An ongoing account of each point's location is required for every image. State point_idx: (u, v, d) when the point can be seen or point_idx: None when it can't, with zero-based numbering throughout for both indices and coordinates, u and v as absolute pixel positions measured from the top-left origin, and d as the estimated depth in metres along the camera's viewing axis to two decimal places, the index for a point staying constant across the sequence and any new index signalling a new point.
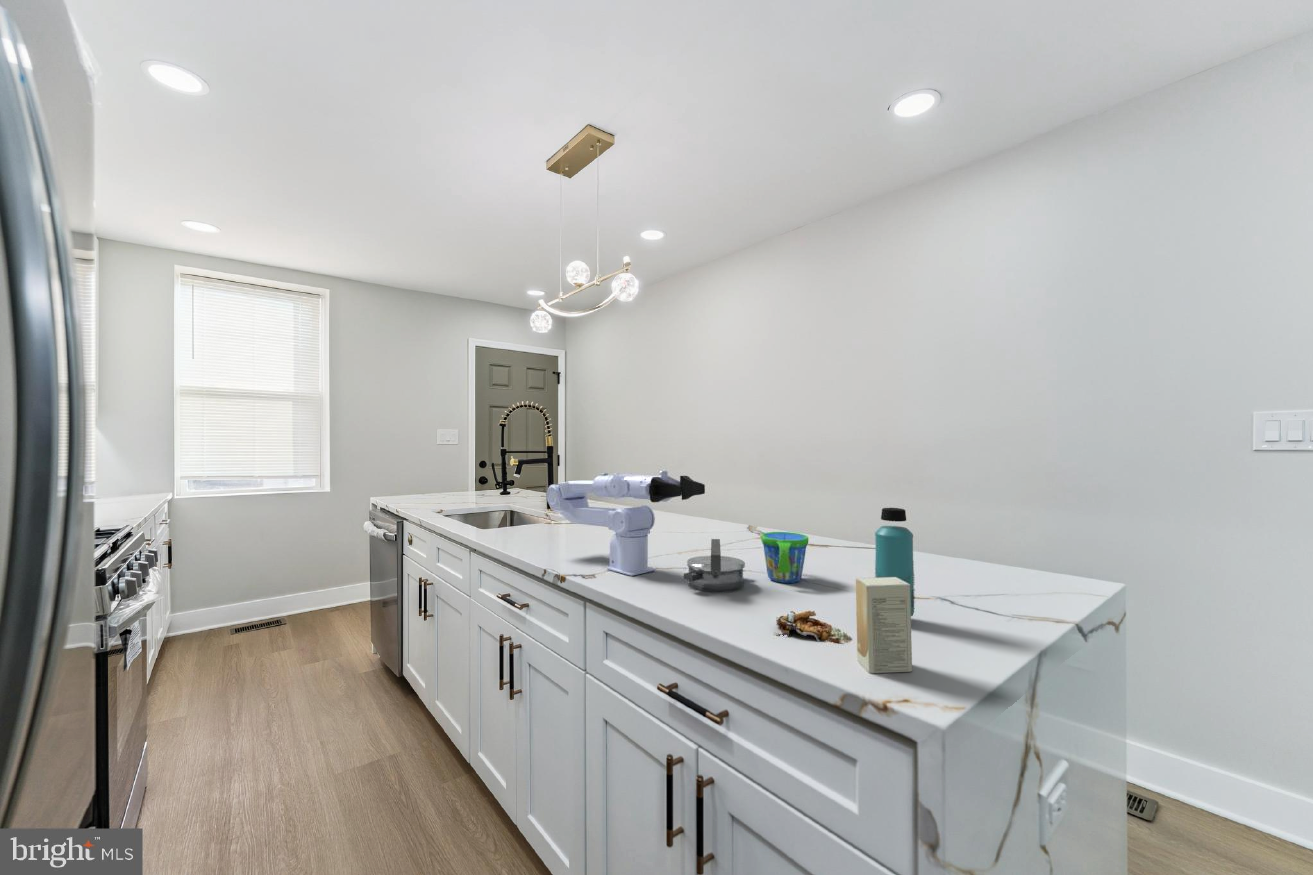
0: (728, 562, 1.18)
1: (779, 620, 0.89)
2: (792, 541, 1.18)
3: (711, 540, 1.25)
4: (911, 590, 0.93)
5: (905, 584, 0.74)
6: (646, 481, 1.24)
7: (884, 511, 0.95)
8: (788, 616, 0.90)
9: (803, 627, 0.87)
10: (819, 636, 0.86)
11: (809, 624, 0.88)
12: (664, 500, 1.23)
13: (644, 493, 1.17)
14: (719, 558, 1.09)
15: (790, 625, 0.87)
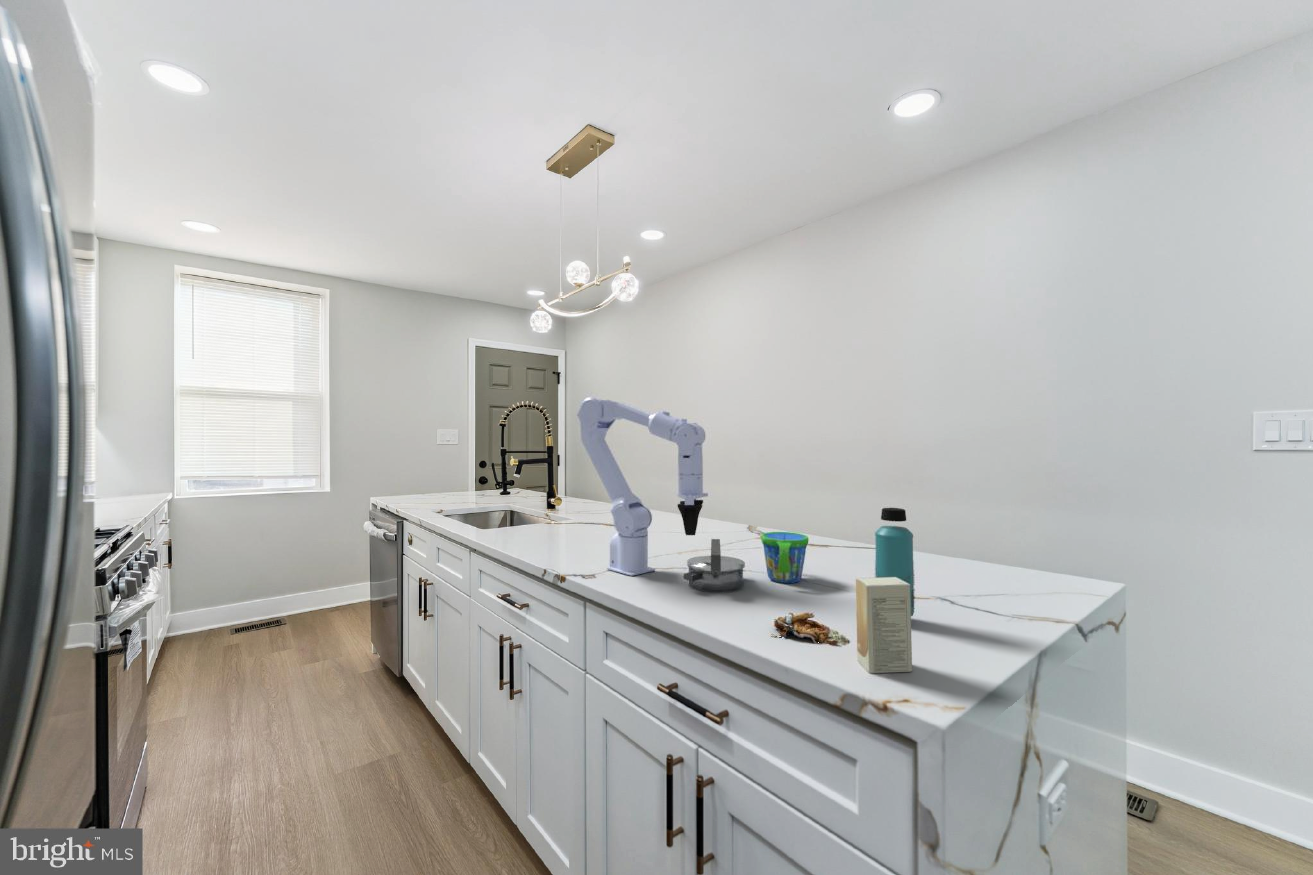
0: (728, 562, 1.18)
1: (776, 621, 0.88)
2: (792, 541, 1.18)
3: (711, 540, 1.25)
4: (911, 590, 0.93)
5: (905, 584, 0.74)
6: (696, 481, 1.22)
7: (884, 511, 0.95)
8: (786, 618, 0.89)
9: (800, 628, 0.86)
10: (816, 638, 0.85)
11: (807, 626, 0.87)
12: None
13: (685, 503, 1.18)
14: (719, 558, 1.09)
15: (787, 627, 0.86)
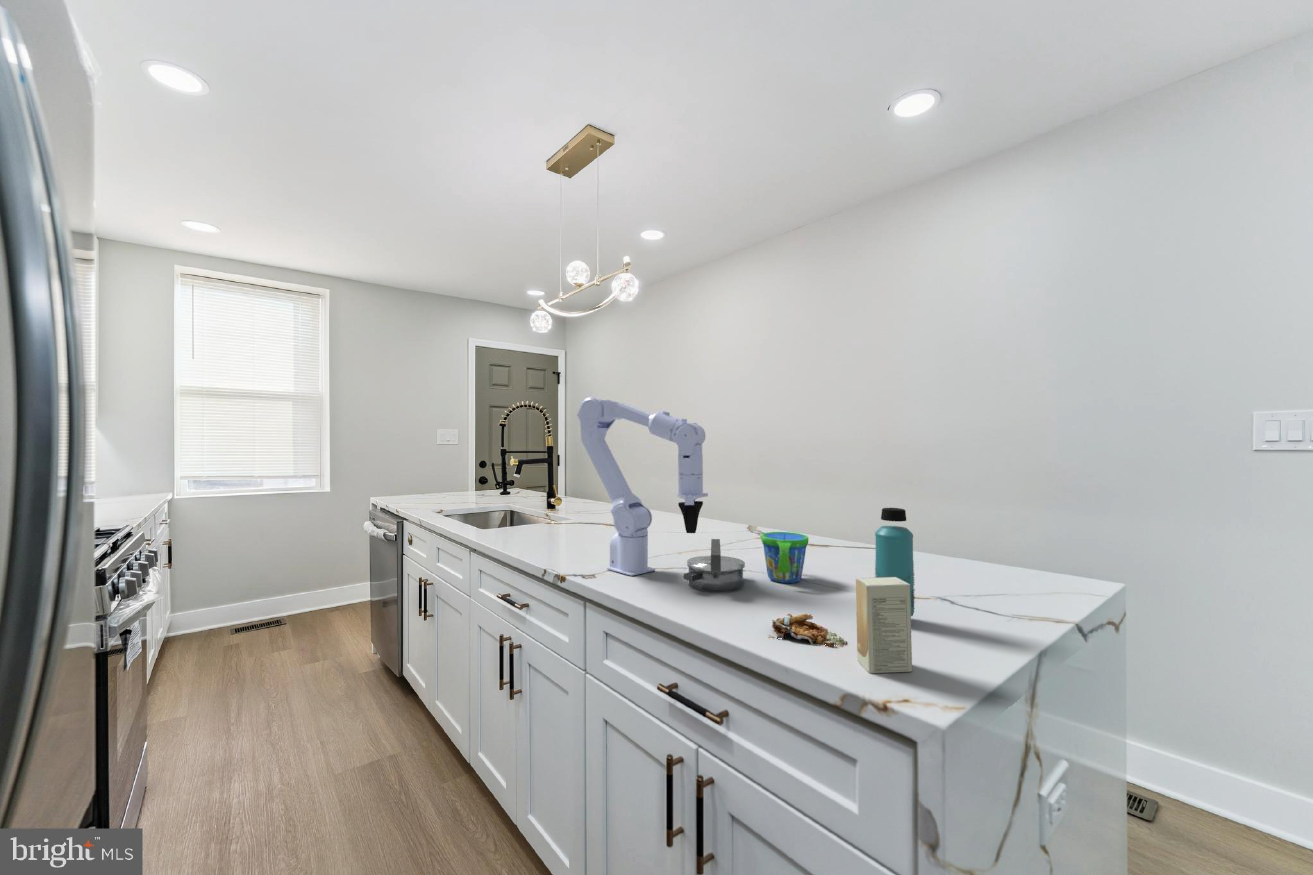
0: (728, 562, 1.18)
1: (774, 623, 0.88)
2: (792, 541, 1.18)
3: (711, 540, 1.25)
4: (911, 590, 0.93)
5: (905, 584, 0.74)
6: (696, 481, 1.22)
7: (884, 511, 0.95)
8: (784, 619, 0.89)
9: (798, 630, 0.85)
10: (814, 640, 0.84)
11: (805, 627, 0.86)
12: None
13: (685, 503, 1.18)
14: (719, 558, 1.09)
15: (784, 628, 0.86)
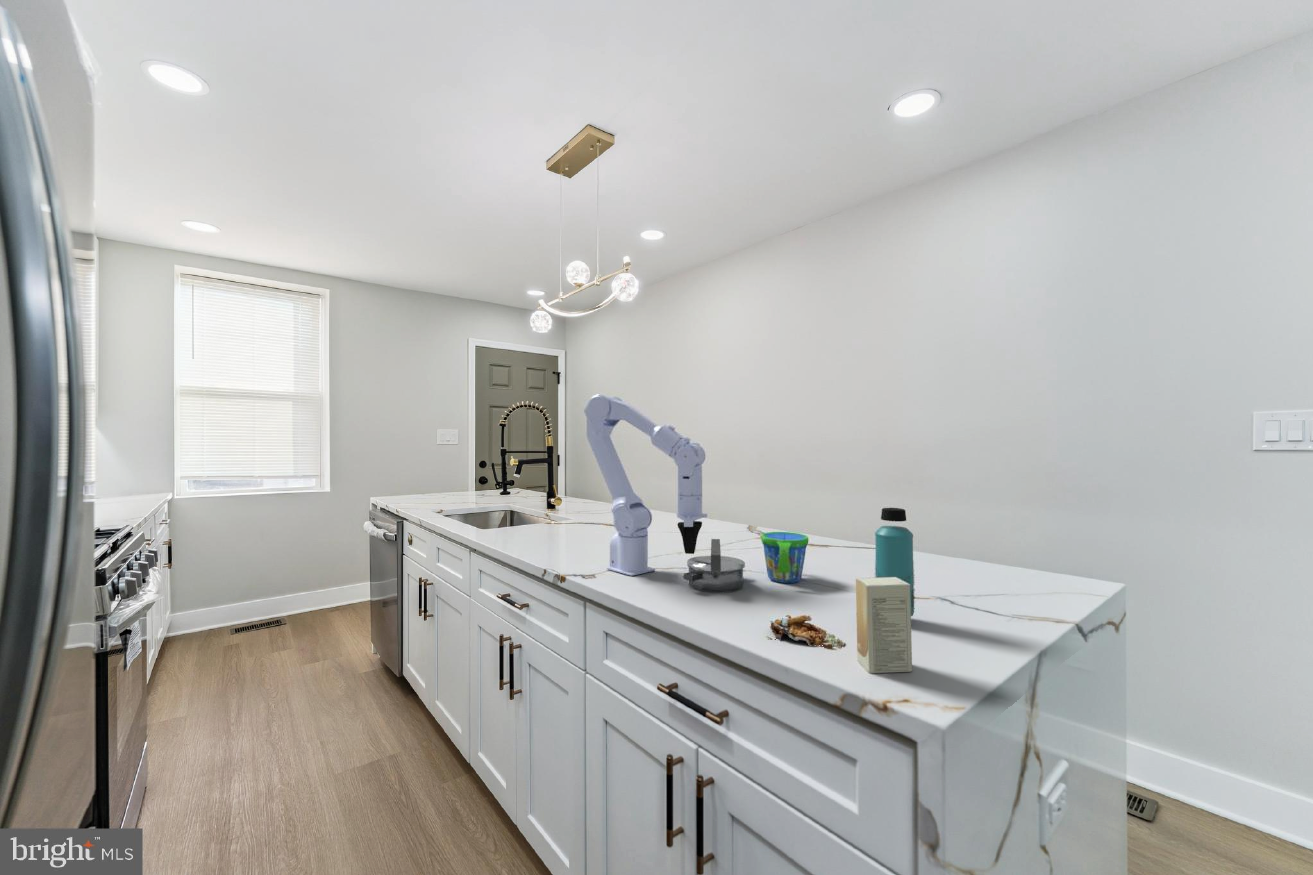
0: (728, 562, 1.18)
1: (772, 624, 0.87)
2: (792, 541, 1.18)
3: (711, 540, 1.25)
4: (911, 590, 0.93)
5: (905, 584, 0.74)
6: (696, 502, 1.22)
7: (884, 511, 0.95)
8: (782, 620, 0.88)
9: (796, 631, 0.85)
10: (811, 642, 0.83)
11: (803, 629, 0.86)
12: None
13: (685, 525, 1.18)
14: (719, 558, 1.09)
15: (782, 629, 0.85)
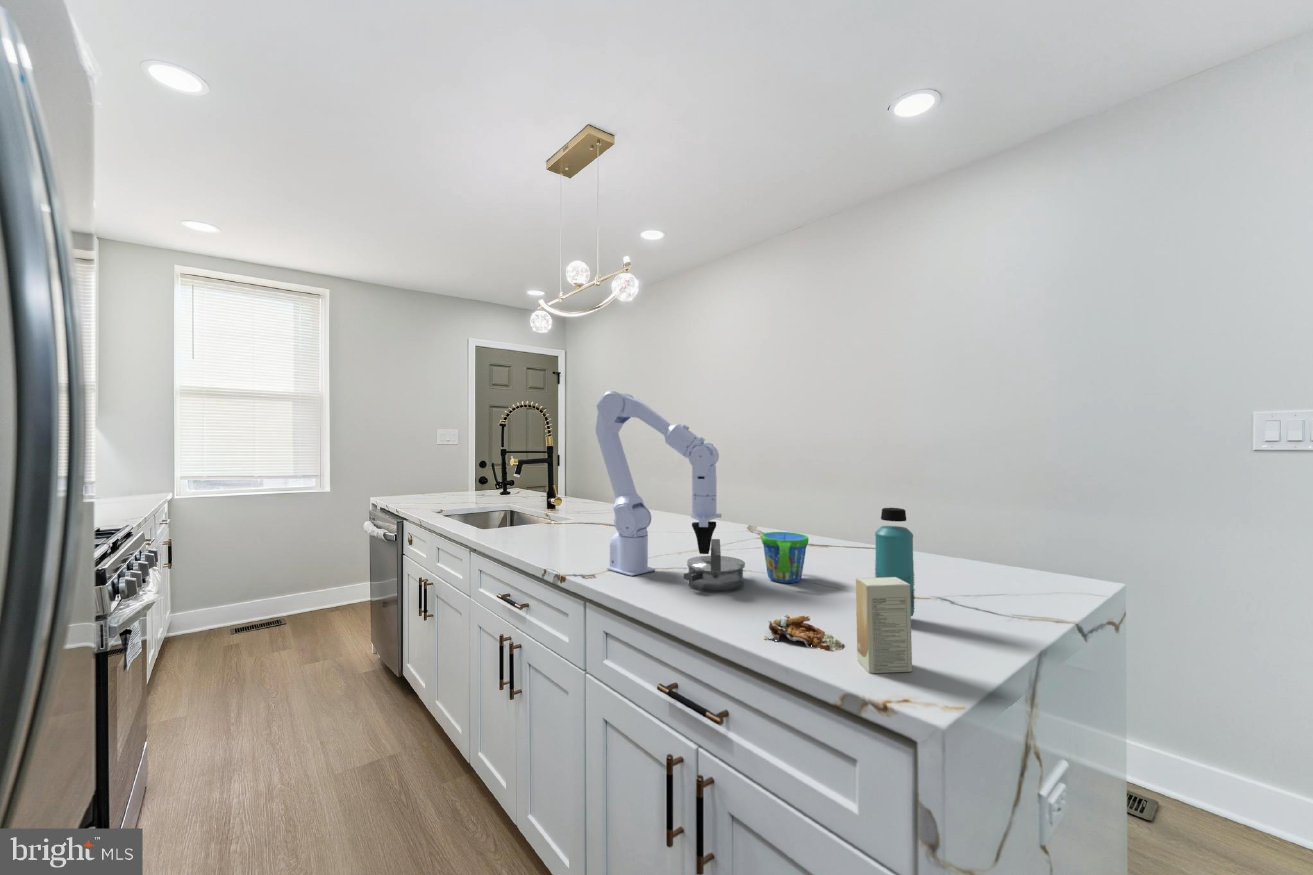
0: (728, 562, 1.18)
1: (770, 624, 0.87)
2: (792, 541, 1.18)
3: (711, 540, 1.25)
4: (911, 590, 0.93)
5: (905, 584, 0.74)
6: (710, 502, 1.22)
7: (884, 511, 0.95)
8: (781, 620, 0.88)
9: (794, 632, 0.85)
10: (809, 642, 0.83)
11: (801, 629, 0.85)
12: (692, 517, 1.25)
13: (700, 525, 1.17)
14: (719, 558, 1.09)
15: (780, 630, 0.85)
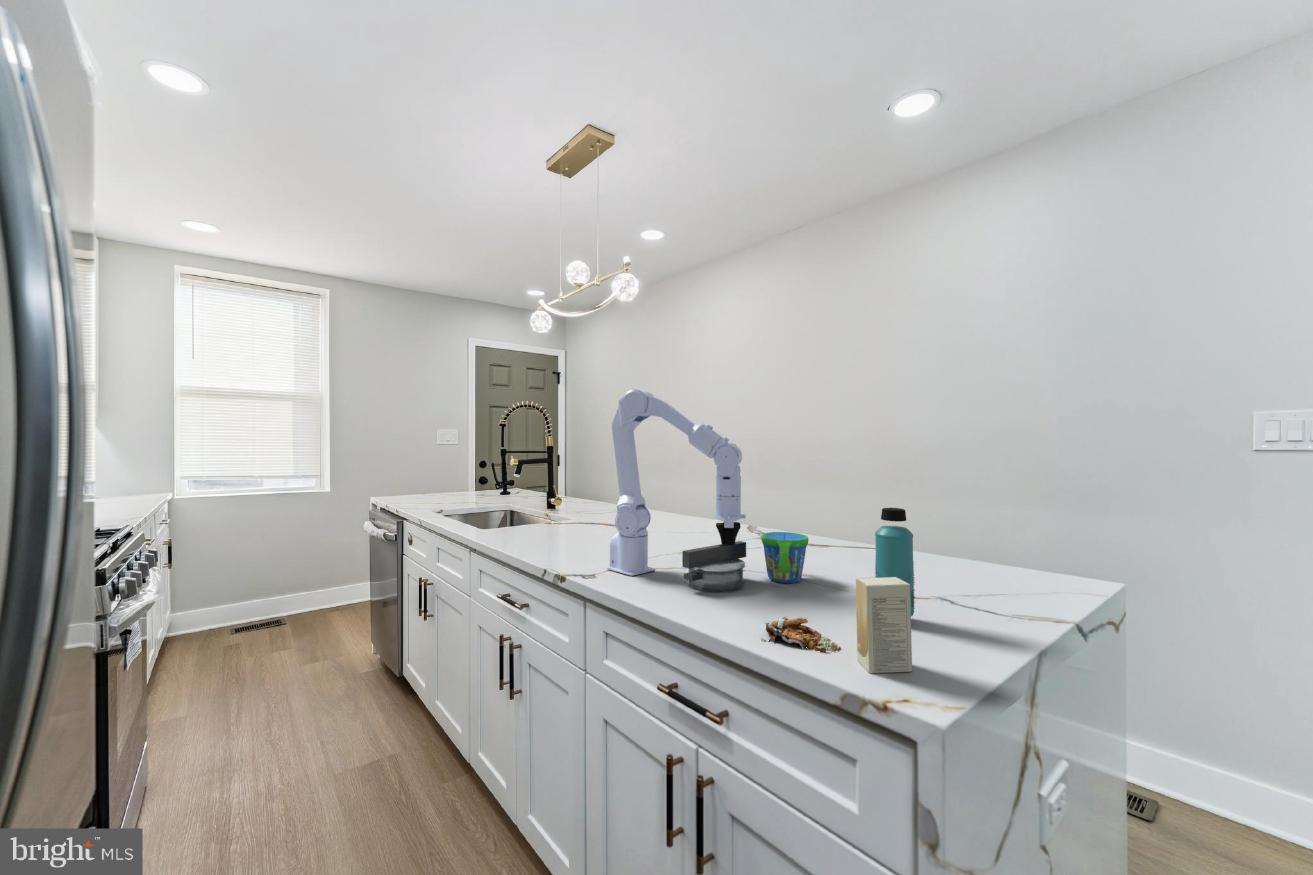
0: (723, 564, 1.16)
1: (767, 625, 0.86)
2: (792, 541, 1.18)
3: None
4: (911, 590, 0.93)
5: (905, 584, 0.74)
6: (735, 503, 1.22)
7: (884, 511, 0.95)
8: (778, 622, 0.87)
9: (790, 634, 0.84)
10: (805, 644, 0.82)
11: (797, 631, 0.85)
12: (716, 517, 1.24)
13: (725, 526, 1.17)
14: (688, 555, 1.12)
15: (776, 631, 0.84)
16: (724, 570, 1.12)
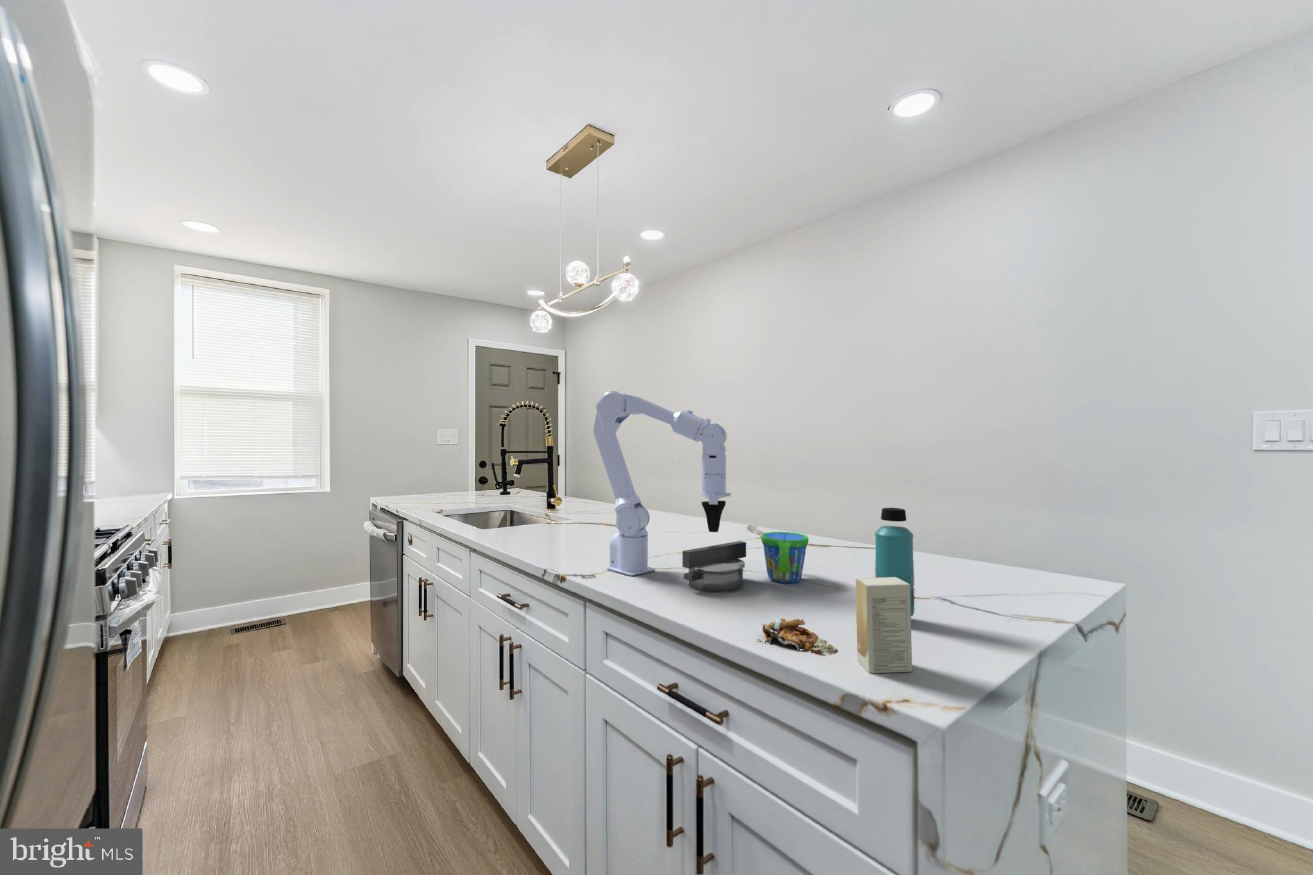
0: (723, 564, 1.16)
1: (763, 627, 0.86)
2: (792, 541, 1.18)
3: (733, 542, 1.24)
4: (911, 590, 0.93)
5: (905, 584, 0.74)
6: (720, 481, 1.24)
7: (884, 511, 0.95)
8: (775, 623, 0.87)
9: (786, 635, 0.83)
10: (801, 646, 0.81)
11: (794, 633, 0.84)
12: None
13: (709, 502, 1.20)
14: (688, 555, 1.12)
15: (772, 632, 0.84)
16: (724, 570, 1.12)
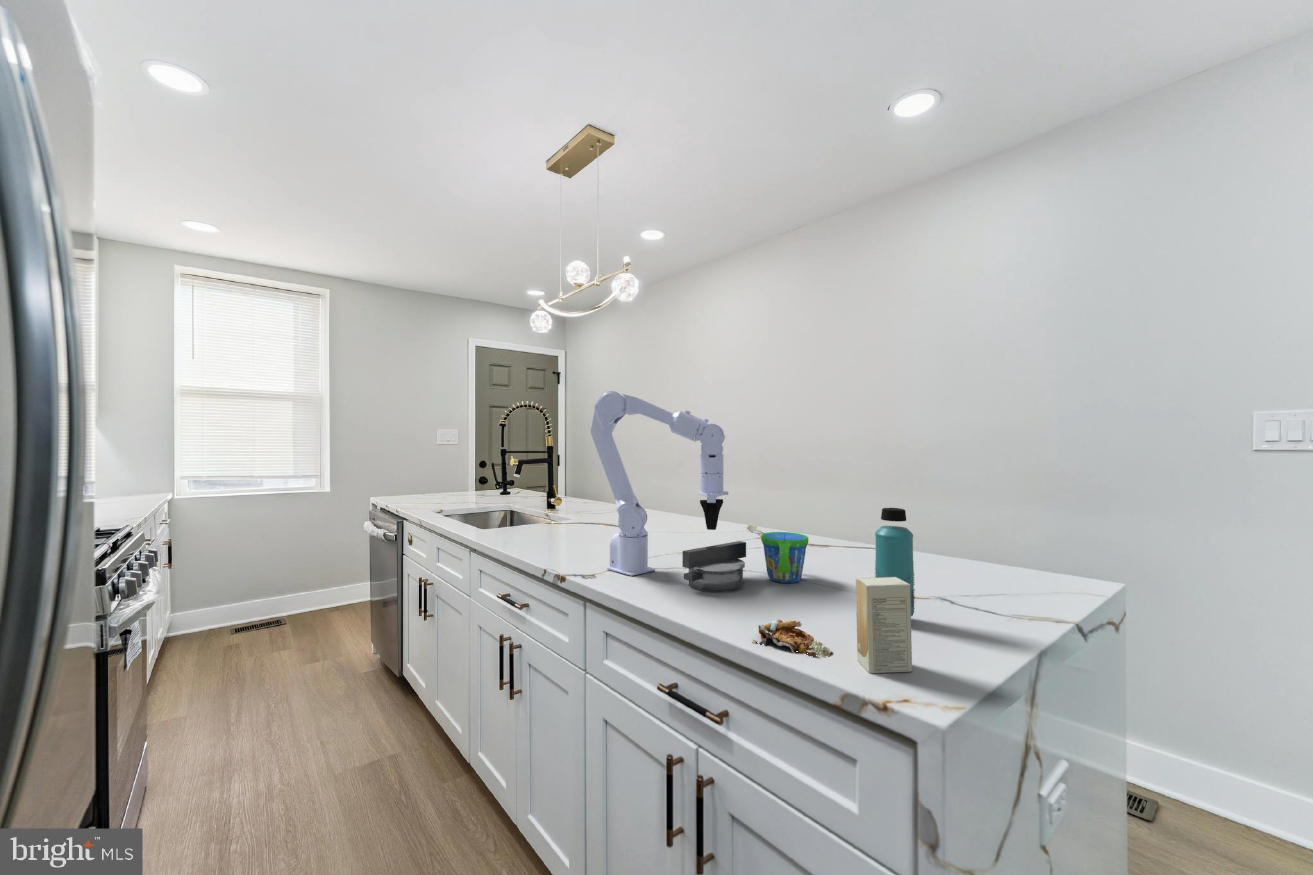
0: (723, 564, 1.16)
1: (759, 627, 0.85)
2: (792, 541, 1.18)
3: (733, 542, 1.24)
4: (911, 590, 0.93)
5: (905, 584, 0.74)
6: (718, 480, 1.27)
7: (884, 511, 0.95)
8: (771, 624, 0.86)
9: (781, 636, 0.83)
10: (795, 648, 0.81)
11: (789, 634, 0.83)
12: (700, 494, 1.30)
13: (708, 501, 1.23)
14: (688, 555, 1.12)
15: (767, 633, 0.83)
16: (724, 570, 1.12)
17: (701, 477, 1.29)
